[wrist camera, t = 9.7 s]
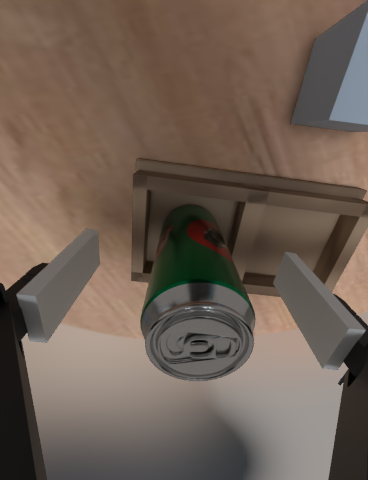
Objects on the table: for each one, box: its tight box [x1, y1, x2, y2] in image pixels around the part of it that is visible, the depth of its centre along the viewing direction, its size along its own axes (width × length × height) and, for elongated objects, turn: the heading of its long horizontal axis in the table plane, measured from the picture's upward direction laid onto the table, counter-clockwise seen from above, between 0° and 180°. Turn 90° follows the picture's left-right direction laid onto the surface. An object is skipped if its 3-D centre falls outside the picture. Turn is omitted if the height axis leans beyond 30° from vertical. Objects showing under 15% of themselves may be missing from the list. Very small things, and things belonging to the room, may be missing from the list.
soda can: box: [140, 206, 255, 381], centre depth 14 cm, size 5×5×12 cm
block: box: [291, 0, 368, 132], centre depth 13 cm, size 5×5×5 cm
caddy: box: [131, 158, 368, 297], centre depth 19 cm, size 11×19×3 cm, turn 83°
